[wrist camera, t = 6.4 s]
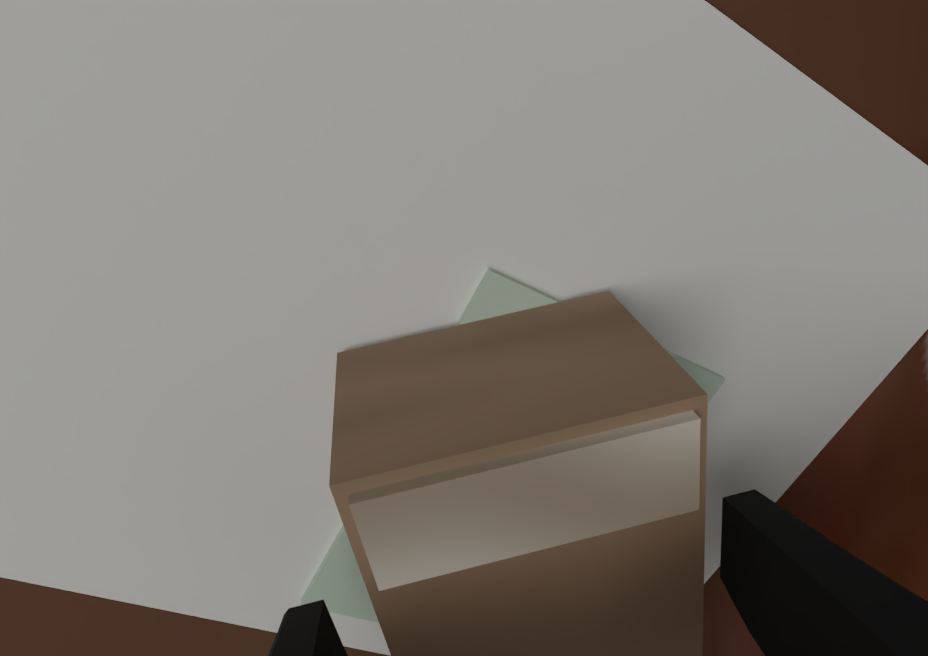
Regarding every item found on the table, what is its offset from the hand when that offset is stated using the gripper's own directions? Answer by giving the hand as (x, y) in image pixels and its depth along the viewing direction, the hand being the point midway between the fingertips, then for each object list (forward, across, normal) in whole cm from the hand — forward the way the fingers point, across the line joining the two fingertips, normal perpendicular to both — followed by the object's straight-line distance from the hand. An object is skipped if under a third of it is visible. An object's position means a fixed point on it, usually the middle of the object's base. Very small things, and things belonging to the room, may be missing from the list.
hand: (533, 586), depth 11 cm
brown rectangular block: (+2, 0, 0) cm, 2 cm away
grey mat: (+3, +2, -4) cm, 5 cm away
